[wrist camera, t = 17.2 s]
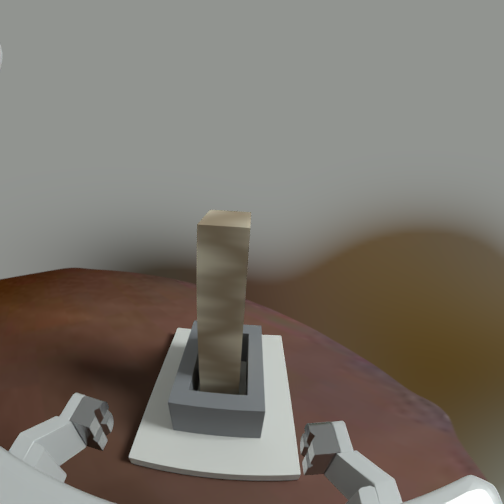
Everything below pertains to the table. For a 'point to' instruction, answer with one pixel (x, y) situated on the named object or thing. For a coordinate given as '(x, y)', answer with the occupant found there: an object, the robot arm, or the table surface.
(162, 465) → the stand
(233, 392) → the slat
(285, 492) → the table surface
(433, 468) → the table surface
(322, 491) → the table surface
